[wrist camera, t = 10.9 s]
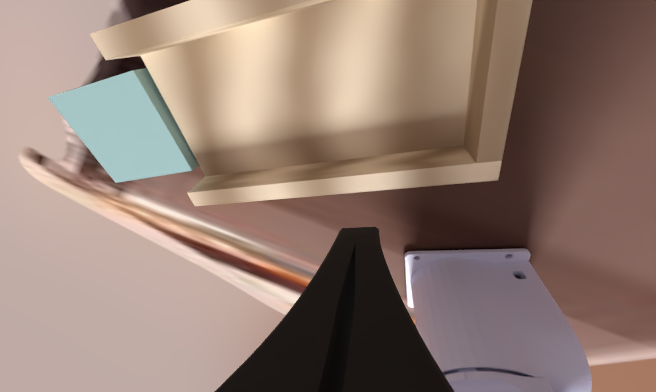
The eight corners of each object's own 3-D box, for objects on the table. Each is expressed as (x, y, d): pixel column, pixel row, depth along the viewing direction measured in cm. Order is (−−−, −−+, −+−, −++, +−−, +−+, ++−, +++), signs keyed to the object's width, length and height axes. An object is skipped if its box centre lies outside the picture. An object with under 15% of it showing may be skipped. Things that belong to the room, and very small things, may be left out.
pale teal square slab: (156, 66, 17) (133, 70, 15) (207, 159, 20) (192, 170, 19) (76, 91, 19) (47, 97, 17) (134, 171, 22) (115, 182, 21)
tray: (510, -85, 10) (556, -123, 8) (478, 155, 16) (497, 180, 13) (138, 32, 15) (89, 34, 13) (217, 183, 21) (195, 206, 18)
